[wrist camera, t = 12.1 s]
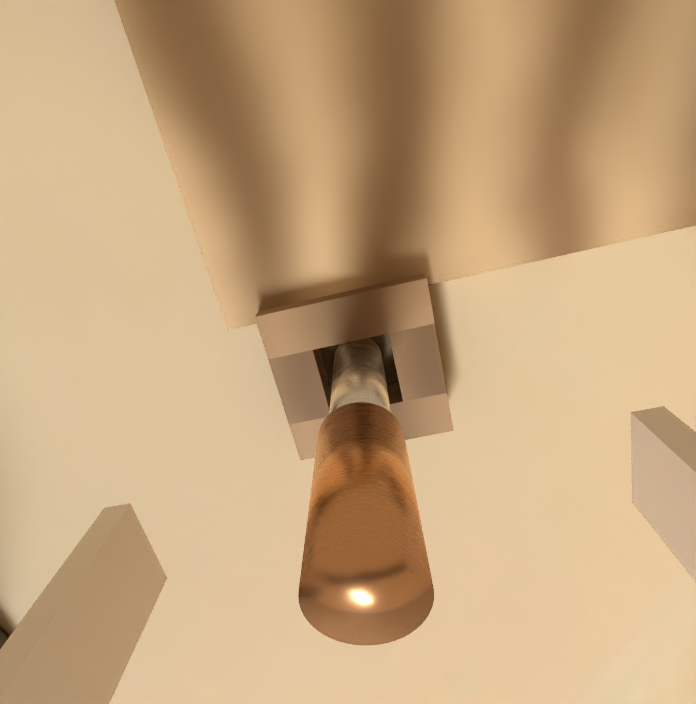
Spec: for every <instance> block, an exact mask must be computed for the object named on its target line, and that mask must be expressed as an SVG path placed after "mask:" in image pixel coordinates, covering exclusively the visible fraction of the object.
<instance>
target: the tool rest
mask: <svg viewBox="0 0 696 704" xmlns="http://www.w3.org/2000/svg"><path fill="white" fill-rule="evenodd" d="M255 319H256V322H257V325H258V328H259V331H260V335H261V338H262V341H263V344H264V347H265V350H266V353H267V356H268V360H269V363H270V366H271V369H272V372H273V375H274V378H275V382H276V385H277V388H278V391H279V394H280V397H281V400H282V403H283V407H284V410H285V413H286V416H287V419H288V422H289V425H290V429H291V432H292V435H293V438H294V441H295V444H296V447H297V450H298V454H299V457H300V460H304V459H309V458H314V457H315V456H316V448H317V440H318V433H319V429H320V427H321V424H322V423H323V421H324V420H325V418H326V417H327V416H328V415H329V412H330V401H331V387H330V383H329V380H328V376H327V372H326V369H325V365H324V361H323V358H322V354H321V350H320V348H324V347H328V346H333V345H338V344H342V343H347V342H351V341H356V340H361V339H365V338H370V337H375V336H379V335H384V334H389V338H390V343H391V347H392V352H393V357H394V361H395V366H396V371H397V376H398V380H399V382H396V383H391V384H386V385H387V391H388V397H389V404H390V410H391V413H392V414H393V415H394V416H395V417H396V418H397V419H398V421H399V422H400V424H401V426H402V429H403V433H404V438H405V440H407V439H412V438H417V437H422V436H428V435H433V434H438V433H443V432H448V431H453V425H452V419H451V414H450V408H449V402H448V396H447V391H446V385H445V379H444V373H443V368H442V362H441V356H440V350H439V345H438V339H437V333H436V327H435V322H434V316H433V310H432V304H431V299H430V293H429V287H428V281H427V278H426V276H425V274H421V275H416V276H412V277H408V278H403V279H399V280H394V281H390V282H385V283H381V284H377V285H372V286H368V287H363V288H359V289H354V290H350V291H346V292H341V293H337V294H332V295H328V296H323V297H319V298H314V299H310V300H306V301H301V302H297V303H292V304H288V305H283V306H279V307H275V308H270V309H266V310H261V311H258V313H257V314H256V316H255Z"/></svg>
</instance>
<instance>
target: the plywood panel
mask: <svg viewBox="0 0 696 704" xmlns="http://www.w3.org/2000/svg"><path fill="white" fill-rule="evenodd" d="M115 3H116V5H117V8H118V11H119V14H120V17H121V20H122V23H123V26H124V29H125V32H126V35H127V37H128V40H129V43H130V46H131V49H132V52H133V55H134V58H135V61H136V64H137V66H138V69H139V72H140V75H141V78H142V81H143V84H144V87H145V90H146V93H147V96H148V98H149V101H150V104H151V107H152V110H153V113H154V116H155V119H156V122H157V125H158V127H159V130H160V133H161V136H162V139H163V142H164V145H165V148H166V151H167V154H168V156H169V159H170V162H171V165H172V168H173V171H174V174H175V177H176V180H177V183H178V186H179V188H180V191H181V194H182V197H183V200H184V203H185V206H186V209H187V212H188V215H189V217H190V220H191V223H192V226H193V229H194V232H195V235H196V238H197V241H198V244H199V247H200V249H201V252H202V255H203V258H204V261H205V264H206V267H207V270H208V273H209V276H210V278H211V281H212V284H213V287H214V290H215V293H216V296H217V299H218V302H219V305H220V308H221V310H222V313H223V316H224V319H225V322H226V325H227V328H228V330H229V329H234V328H238V327H243V326H247V325H252V324H256V323H257V322H256V319H255V316H256V314H257V313H258V311H261V310H266V309H270V308H275V307H279V306H283V305H288V304H292V303H297V302H301V301H306V300H310V299H314V298H319V297H323V296H328V295H332V294H337V293H341V292H346V291H350V290H354V289H359V288H363V287H368V286H372V285H377V284H381V283H385V282H390V281H394V280H399V279H403V278H408V277H412V276H416V275H421V274H425V276H426V278H427V281H428V285H431V284H435V283H440V282H444V281H449V280H453V279H458V278H462V277H467V276H471V275H476V274H480V273H485V272H489V271H494V270H498V269H503V268H507V267H512V266H516V265H520V264H525V263H529V262H534V261H538V260H543V259H547V258H552V257H556V256H561V255H565V254H570V253H574V252H579V251H583V250H588V249H592V248H597V247H601V246H606V245H610V244H615V243H619V242H623V241H628V240H632V239H637V238H641V237H646V236H650V235H655V234H659V233H664V232H668V231H673V230H677V229H682V228H686V227H691V226H695V225H696V0H115Z"/></svg>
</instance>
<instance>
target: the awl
mask: <svg viewBox="0 0 696 704" xmlns="http://www.w3.org/2000/svg"><path fill="white" fill-rule="evenodd" d="M433 601H434V590H433V584H432V578H431V573H430V568H429V563H428V558H427V552H426V547H425V542H424V537H423V532H422V526H421V521H420V516H419V511H418V506H417V500H416V495H415V490H414V485H413V480H412V474H411V469H410V464H409V459H408V454H407V448H406V443H405V438H404V433H403V429H402V426H401V424H400V422H399V421H398V419H397V418H396V417H395V416H394V415H393V414H392V413H391V410H390V404H389V397H388V391H387V385H386V378H385V372H384V366H383V359H382V353H381V350H380V348H379V346H378V345H377V344H376V343H375V342H374V341H373V340H372V339H370V338H365V339H361V340H356V341H351V342H347V343H342V344H339V345H338V347H337V349H336V351H335V356H334V367H333V378H332V389H331V401H330V412H329V415H328V416H327V417H326V418H325V420H324V421H323V423H322V424H321V427H320V429H319V433H318V440H317V448H316V456H315V464H314V472H313V480H312V488H311V497H310V505H309V513H308V521H307V529H306V537H305V545H304V553H303V561H302V569H301V577H300V585H299V604H300V607H301V610H302V612H303V614H304V616H305V618H306V619H307V620H308V622H309V623H310V624H311V625H312V626H313V627H314V628H315V629H317V630H318V631H319V632H321V633H322V634H324V635H326V636H328V637H330V638H332V639H334V640H337V641H340V642H344V643H348V644H354V645H378V644H384V643H388V642H392V641H395V640H397V639H400V638H402V637H404V636H406V635H408V634H410V633H411V632H413V631H414V630H415V629H417V628H418V627H419V626H420V625H421V624H422V623H423V622H424V620H425V619H426V618H427V616H428V615H429V613H430V611H431V608H432V605H433Z"/></svg>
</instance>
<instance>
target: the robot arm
mask: <svg viewBox="0 0 696 704" xmlns="http://www.w3.org/2000/svg"><path fill="white" fill-rule="evenodd" d="M631 462H632V503H633V504H634V505H635V507H636V508H637V509H638V510H639V512H640V513H641V514H642V515H643V517H644V518H645V519H646V520H647V522H648V523H649V524H650V525H651V527H652V528H653V529H654V530H655V532H656V533H657V534H658V535H659V537H660V538H661V539H662V541H663V542H664V543H665V544H666V546H667V547H668V548H669V549H670V551H671V552H672V553H673V554H674V556H675V557H676V558H677V559H678V561H679V562H680V563H681V564H682V566H683V567H684V568H685V569H686V571H687V572H688V573H689V574H690V576H691V577H692V578H693V579H694V581H695V582H696V432H695V431H694V430H692V429H691V428H690V427H689V426H687V425H686V424H685V423H684V422H682V421H681V420H680V419H679V418H677V417H676V416H675V415H674V414H673V413H671V412H670V411H669V410H668V409H666V408H665V407H664V406H663V407H658V408H652V409H647V410H641V411H636V412H631ZM166 579H167V577H166V575H165V573H164V571H163V569H162V567H161V565H160V563H159V561H158V559H157V557H156V555H155V553H154V551H153V549H152V547H151V545H150V543H149V541H148V539H147V537H146V535H145V532H144V530H143V528H142V526H141V524H140V522H139V520H138V518H137V516H136V514H135V512H134V510H133V508H132V506H131V504H124V505H119V506H113V507H108V508H104V509H103V510H102V512H101V513H100V515H99V516H98V517H97V519H96V520H95V521H94V523H93V524H92V525H91V527H90V528H89V529H88V531H87V532H86V534H85V535H84V536H83V538H82V539H81V540H80V542H79V543H78V544H77V546H76V547H75V549H74V550H73V551H72V553H71V554H70V555H69V557H68V558H67V559H66V561H65V562H64V563H63V565H62V566H61V568H60V569H59V570H58V572H57V573H56V574H55V576H54V577H53V578H52V580H51V581H50V582H49V584H48V585H47V587H46V588H45V589H44V591H43V592H42V593H41V595H40V596H39V597H38V599H37V600H36V602H35V603H34V604H33V606H32V607H31V608H30V610H29V611H28V612H27V614H26V615H25V616H24V618H23V619H22V621H21V622H20V623H19V625H18V626H17V627H16V629H15V630H14V631H13V633H12V634H11V635H10V637H9V638H8V637H7V636H6V635H5V634H4V633H3V632H2V631H1V630H0V704H109V702H110V700H111V698H112V696H113V694H114V692H115V689H116V687H117V685H118V683H119V681H120V679H121V676H122V674H123V672H124V670H125V668H126V666H127V663H128V661H129V659H130V657H131V655H132V653H133V650H134V648H135V646H136V644H137V642H138V640H139V637H140V635H141V633H142V631H143V629H144V627H145V624H146V622H147V620H148V618H149V616H150V614H151V611H152V609H153V607H154V605H155V603H156V601H157V599H158V596H159V594H160V592H161V590H162V588H163V586H164V583H165V581H166Z"/></svg>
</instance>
